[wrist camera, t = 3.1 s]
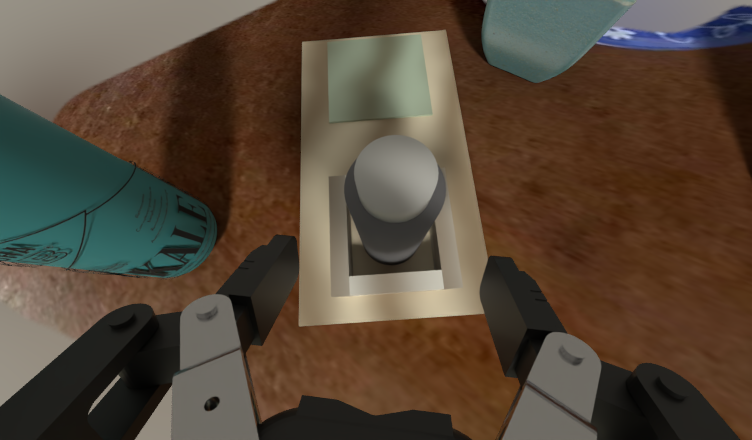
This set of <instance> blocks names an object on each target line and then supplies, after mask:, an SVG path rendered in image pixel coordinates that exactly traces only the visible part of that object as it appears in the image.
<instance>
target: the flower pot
mask: <svg viewBox="0 0 752 440" xmlns="http://www.w3.org/2000/svg"><path fill="white" fill-rule="evenodd" d="M636 1H637V0H487V4H486V9H485V13H484V18H483V24H482V46H483V51H484V54H485V57H486V59H487V61H488V63H489V64H490V65H492V66H495V67H497V68H500V69H502V70H505V71H507V72H510V73H512V74H515V75H517V76H519V77H522V78H524V79H526V80H528V81H531V82H534V83H538V82H542V81H545V80H548V79H550V78H552V77H555V76H556V75H558V74H560V73H562V72H564V71H565V70H567V69H568V68H569V67H571V66H572V65H573V64H575V63H576V62H577V61H578V60H579V59H580V58H581V57H582V56H583V55H584V54H585V53H586V52H587V51H588V50H589V49H590V48H591V47H592V46H593V45H594V44H595V43H596V42H597V41H598V40H599V39H600V38H601V37H602V36H603V35H604V34H605V33H606V32H607V31H608V30H609V29H610V28H611V27H612V26H613V25H614V24H615V23H616V22H617V21H618V20H619V19H620V17H621V16H623V15H624V14H625V13H626V12H627V11H628V9H629V8H630V7H631V6H632V5H633V4H634V3H635V2H636Z"/></svg>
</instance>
